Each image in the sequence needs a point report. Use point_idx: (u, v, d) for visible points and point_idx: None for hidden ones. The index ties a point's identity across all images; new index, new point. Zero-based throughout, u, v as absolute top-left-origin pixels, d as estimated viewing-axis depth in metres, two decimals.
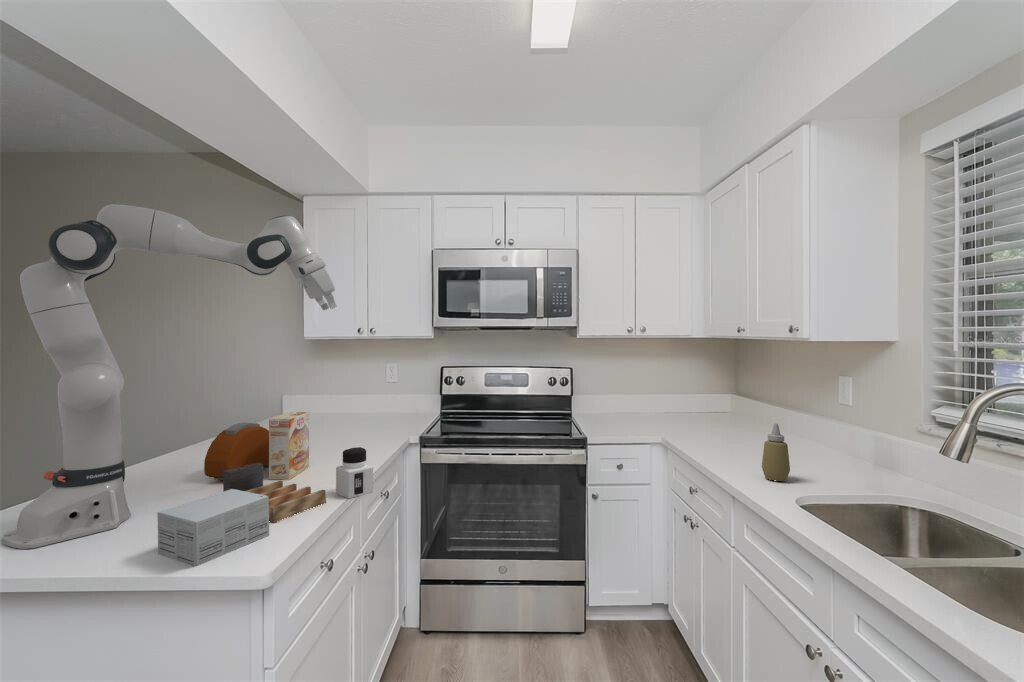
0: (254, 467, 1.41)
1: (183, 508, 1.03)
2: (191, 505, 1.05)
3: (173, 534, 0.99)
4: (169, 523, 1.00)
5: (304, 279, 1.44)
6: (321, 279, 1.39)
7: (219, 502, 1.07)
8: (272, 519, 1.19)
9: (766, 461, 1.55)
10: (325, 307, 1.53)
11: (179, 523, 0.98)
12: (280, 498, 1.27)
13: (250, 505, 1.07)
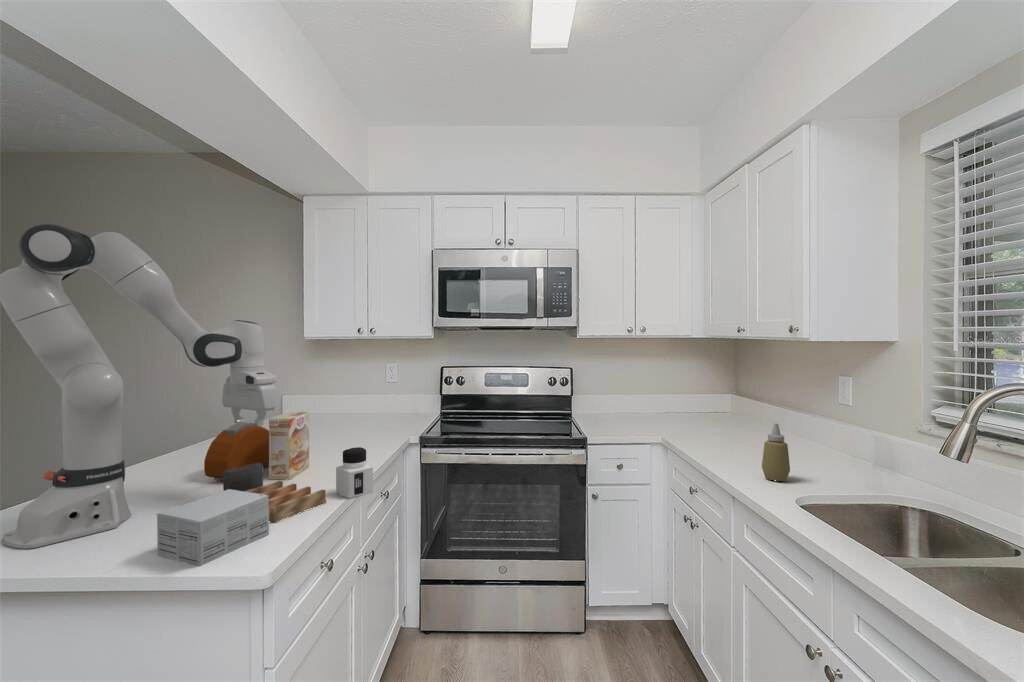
0: (254, 467, 1.41)
1: (183, 509, 1.03)
2: (190, 505, 1.05)
3: (175, 535, 0.99)
4: (170, 524, 0.99)
5: (241, 387, 1.37)
6: (268, 395, 1.35)
7: (219, 502, 1.07)
8: (272, 519, 1.19)
9: (766, 461, 1.55)
10: (239, 421, 1.42)
11: (182, 523, 0.98)
12: (280, 498, 1.27)
13: (251, 504, 1.08)
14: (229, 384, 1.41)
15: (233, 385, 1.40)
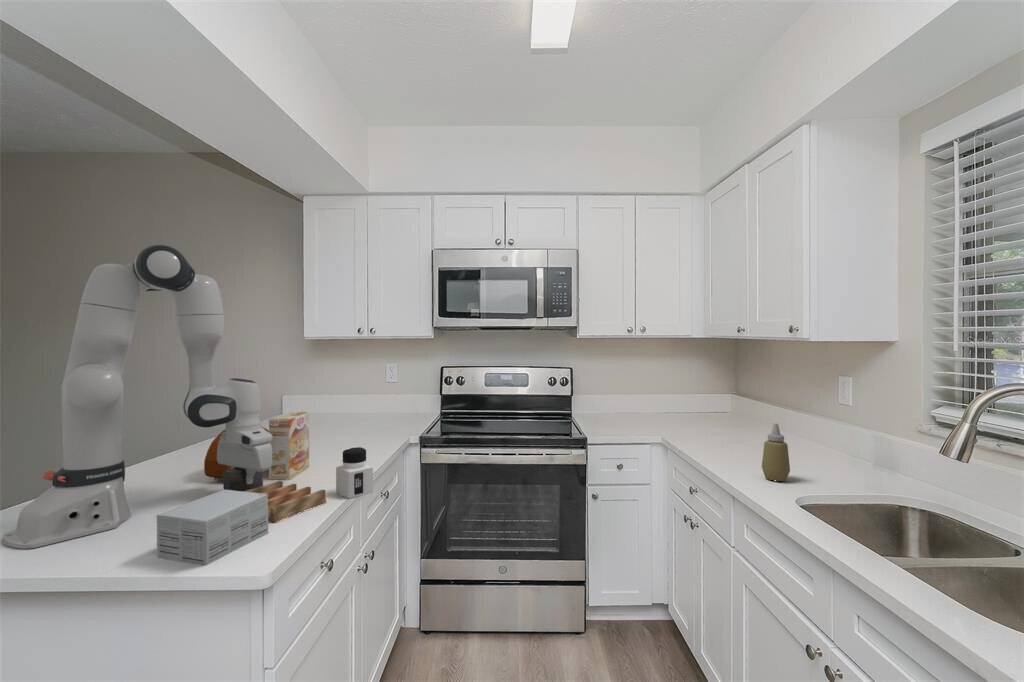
0: None
1: (183, 509, 1.02)
2: (190, 506, 1.04)
3: (178, 536, 0.98)
4: (172, 525, 0.99)
5: (237, 446, 1.36)
6: (264, 455, 1.35)
7: (219, 502, 1.07)
8: (272, 519, 1.19)
9: (766, 461, 1.55)
10: None
11: (185, 523, 0.98)
12: (280, 498, 1.27)
13: (252, 503, 1.08)
14: (224, 441, 1.41)
15: (228, 443, 1.40)
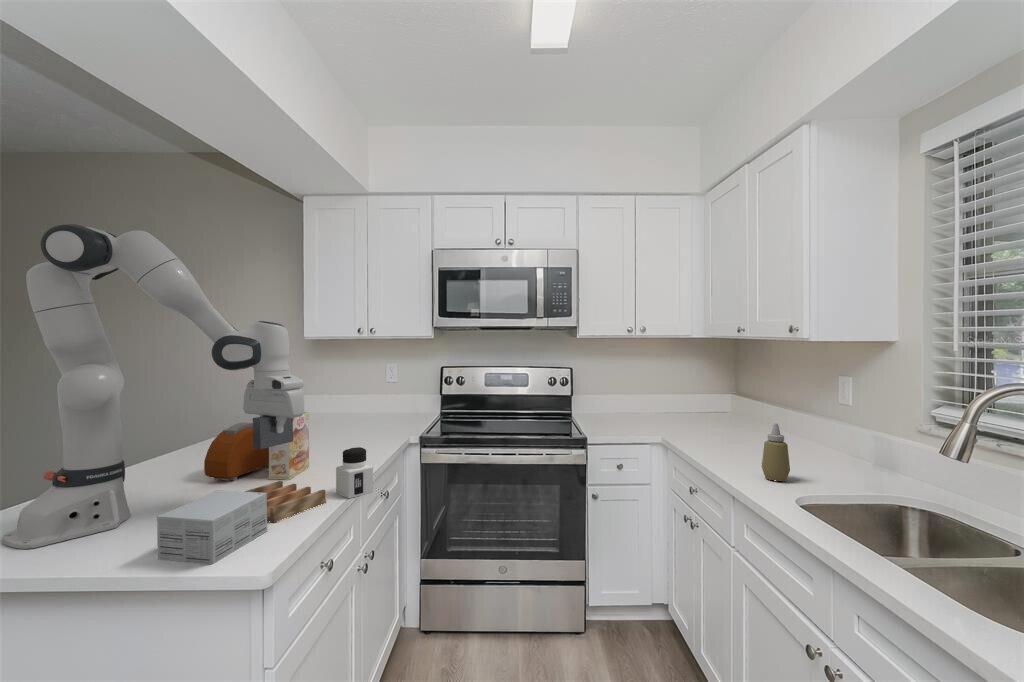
0: None
1: (184, 510, 1.02)
2: (189, 507, 1.04)
3: (181, 536, 0.98)
4: (174, 526, 0.98)
5: (266, 392, 1.28)
6: (296, 401, 1.27)
7: (219, 502, 1.07)
8: (272, 519, 1.19)
9: (766, 461, 1.55)
10: None
11: (190, 523, 0.98)
12: (280, 498, 1.27)
13: (253, 502, 1.09)
14: (251, 389, 1.32)
15: (256, 390, 1.32)
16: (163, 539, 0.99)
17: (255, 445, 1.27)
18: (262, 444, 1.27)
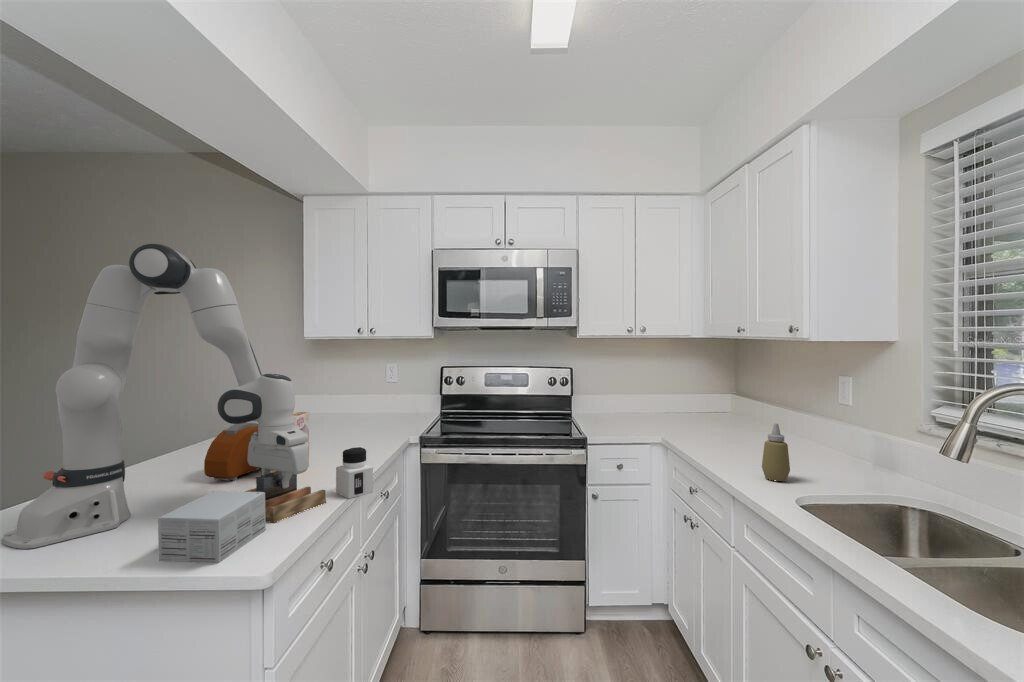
0: None
1: (185, 511, 1.01)
2: (190, 508, 1.03)
3: (185, 536, 0.98)
4: (177, 526, 0.98)
5: (271, 447, 1.27)
6: (300, 457, 1.25)
7: (219, 502, 1.07)
8: (272, 519, 1.19)
9: (766, 461, 1.55)
10: None
11: (194, 523, 0.98)
12: (280, 498, 1.27)
13: (253, 501, 1.10)
14: (256, 442, 1.31)
15: (260, 443, 1.30)
16: (165, 540, 0.98)
17: None
18: None
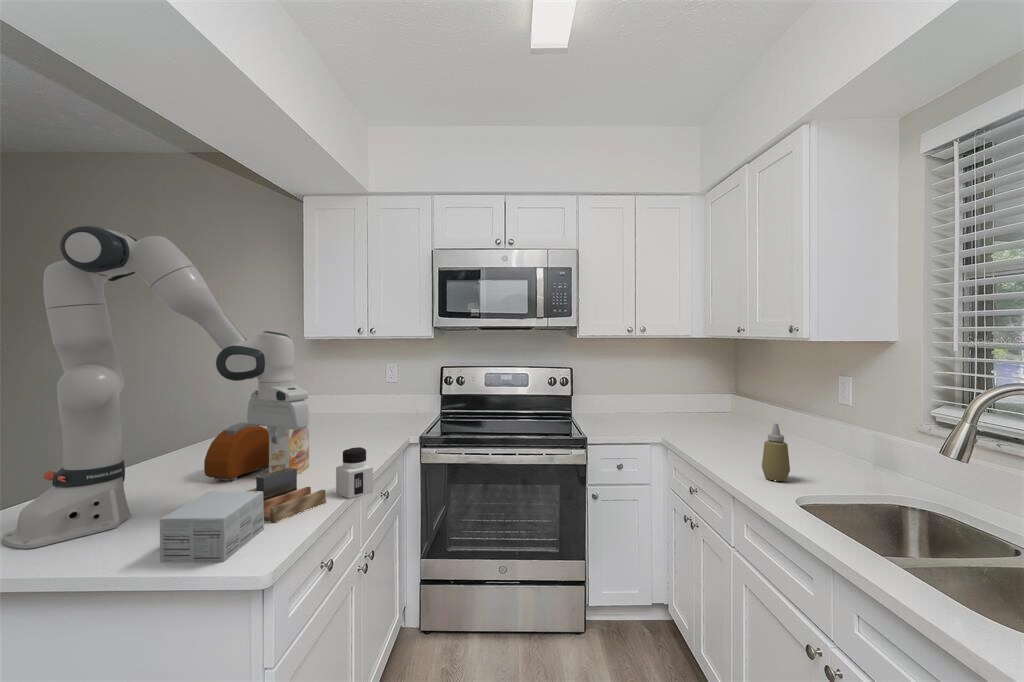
0: (288, 473, 1.31)
1: (186, 511, 1.01)
2: (190, 508, 1.03)
3: (189, 536, 0.98)
4: (180, 527, 0.98)
5: (271, 404, 1.27)
6: (300, 413, 1.25)
7: (219, 502, 1.07)
8: (272, 519, 1.19)
9: (766, 461, 1.55)
10: None
11: (198, 523, 0.98)
12: (280, 498, 1.27)
13: (253, 500, 1.10)
14: (256, 400, 1.31)
15: (260, 401, 1.30)
16: (167, 541, 0.98)
17: None
18: None
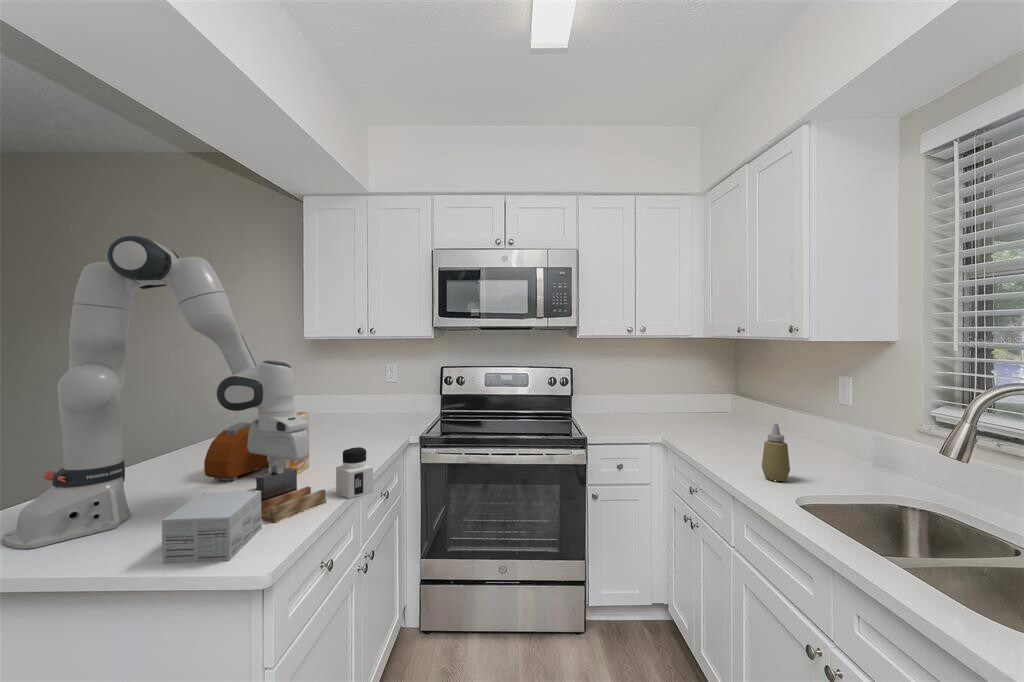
0: (288, 473, 1.31)
1: (188, 512, 1.01)
2: (190, 509, 1.03)
3: (193, 536, 0.98)
4: (184, 527, 0.98)
5: (271, 434, 1.27)
6: (300, 443, 1.25)
7: (219, 502, 1.07)
8: (272, 519, 1.19)
9: (766, 461, 1.55)
10: None
11: (203, 523, 0.98)
12: (280, 498, 1.27)
13: (253, 499, 1.11)
14: (256, 429, 1.31)
15: (260, 430, 1.30)
16: (170, 542, 0.97)
17: None
18: None
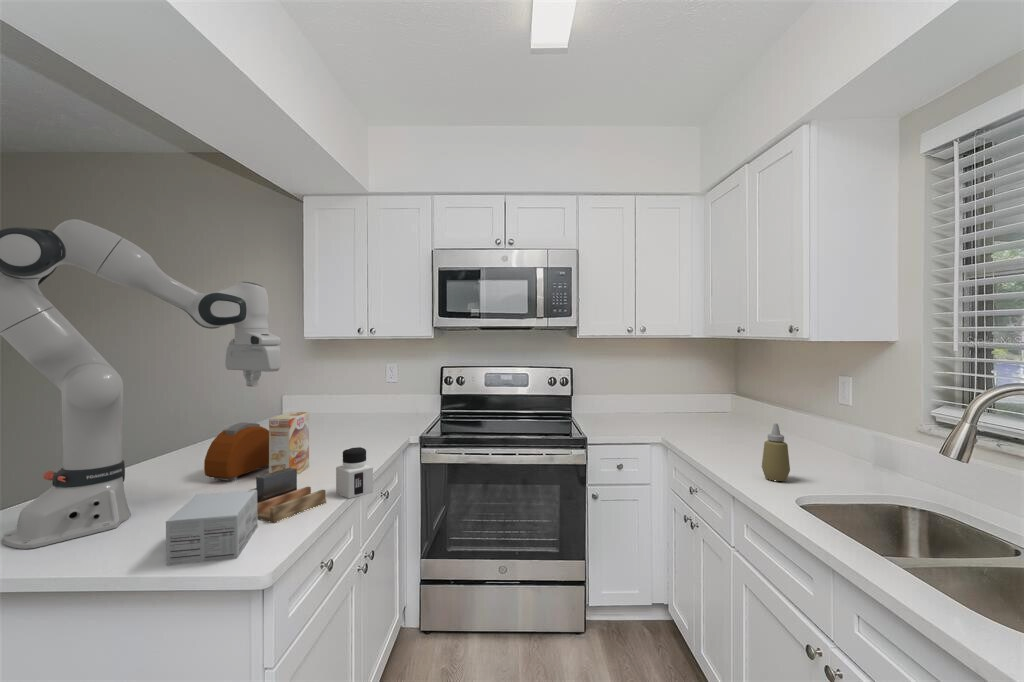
0: (288, 473, 1.31)
1: (191, 512, 1.01)
2: (192, 509, 1.02)
3: (199, 536, 0.98)
4: (190, 527, 0.97)
5: (246, 348, 1.37)
6: (273, 356, 1.36)
7: (219, 502, 1.07)
8: (272, 519, 1.19)
9: (766, 461, 1.55)
10: None
11: (209, 522, 0.98)
12: (280, 498, 1.27)
13: (251, 498, 1.11)
14: (233, 346, 1.42)
15: (237, 347, 1.41)
16: (174, 543, 0.97)
17: None
18: None
